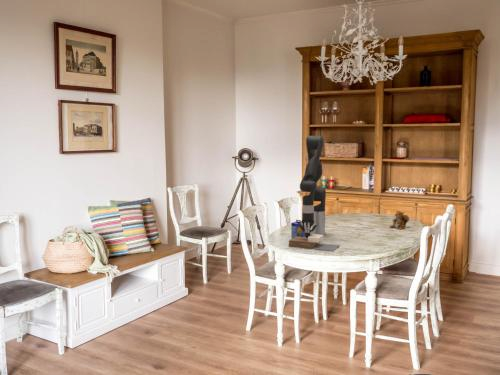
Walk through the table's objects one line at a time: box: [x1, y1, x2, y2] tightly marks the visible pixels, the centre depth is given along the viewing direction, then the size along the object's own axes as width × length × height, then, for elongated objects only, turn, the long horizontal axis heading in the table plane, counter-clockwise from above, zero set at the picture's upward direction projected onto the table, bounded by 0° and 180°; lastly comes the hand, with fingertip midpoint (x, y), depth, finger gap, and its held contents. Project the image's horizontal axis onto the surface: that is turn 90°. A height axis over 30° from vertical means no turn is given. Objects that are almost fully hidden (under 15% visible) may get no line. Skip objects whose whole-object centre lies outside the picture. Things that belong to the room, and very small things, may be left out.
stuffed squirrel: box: [389, 210, 410, 231], centre depth 372 cm, size 10×14×13 cm
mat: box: [312, 242, 341, 252], centre depth 313 cm, size 15×13×1 cm
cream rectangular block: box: [308, 233, 325, 243], centre depth 316 cm, size 10×7×3 cm
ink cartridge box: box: [290, 219, 305, 240], centre depth 333 cm, size 10×6×14 cm, turn 51°
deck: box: [288, 236, 321, 250], centre depth 319 cm, size 14×16×4 cm
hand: (307, 238), depth 318 cm, fingers closed
